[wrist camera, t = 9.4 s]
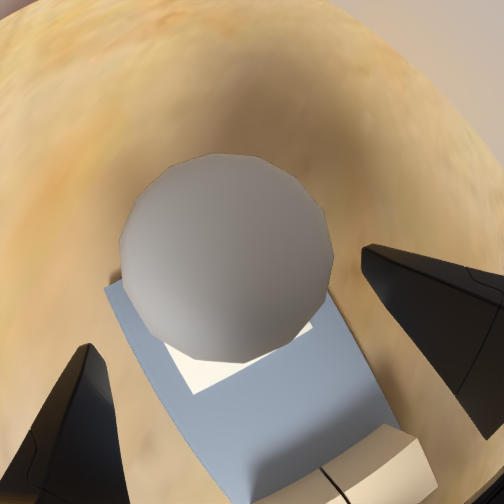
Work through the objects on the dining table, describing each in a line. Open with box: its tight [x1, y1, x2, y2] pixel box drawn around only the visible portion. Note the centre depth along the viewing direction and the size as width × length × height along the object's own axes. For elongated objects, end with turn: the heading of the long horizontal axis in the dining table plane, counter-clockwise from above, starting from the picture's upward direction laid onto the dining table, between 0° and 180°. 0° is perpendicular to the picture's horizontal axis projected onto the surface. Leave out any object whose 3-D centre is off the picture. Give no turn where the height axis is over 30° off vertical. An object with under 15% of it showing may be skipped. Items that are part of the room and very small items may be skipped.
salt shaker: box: [119, 153, 334, 364], centre depth 11 cm, size 6×6×13 cm
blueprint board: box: [104, 279, 438, 504], centre depth 15 cm, size 22×12×5 cm, turn 30°
